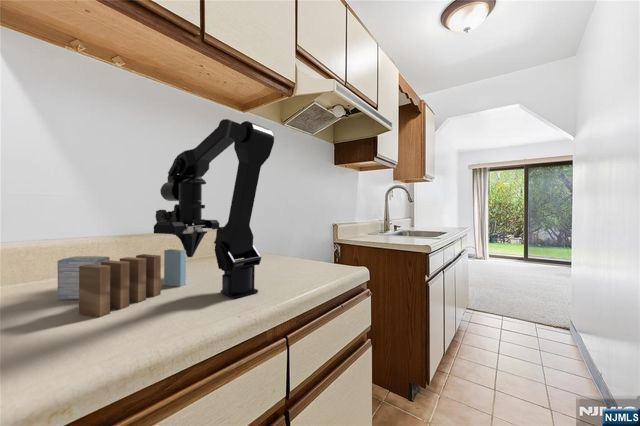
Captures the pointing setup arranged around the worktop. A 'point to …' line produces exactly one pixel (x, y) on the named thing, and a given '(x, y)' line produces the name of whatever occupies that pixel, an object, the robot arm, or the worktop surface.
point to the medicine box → (73, 274)
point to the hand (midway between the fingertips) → (189, 257)
